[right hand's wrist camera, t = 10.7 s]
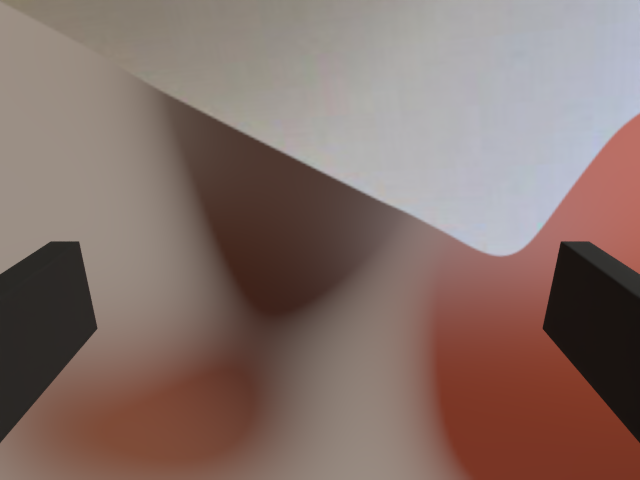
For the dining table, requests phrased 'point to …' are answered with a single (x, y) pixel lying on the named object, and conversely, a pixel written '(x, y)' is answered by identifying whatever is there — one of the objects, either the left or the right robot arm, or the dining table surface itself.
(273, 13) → the dining table surface
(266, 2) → the dining table surface
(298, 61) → the dining table surface
